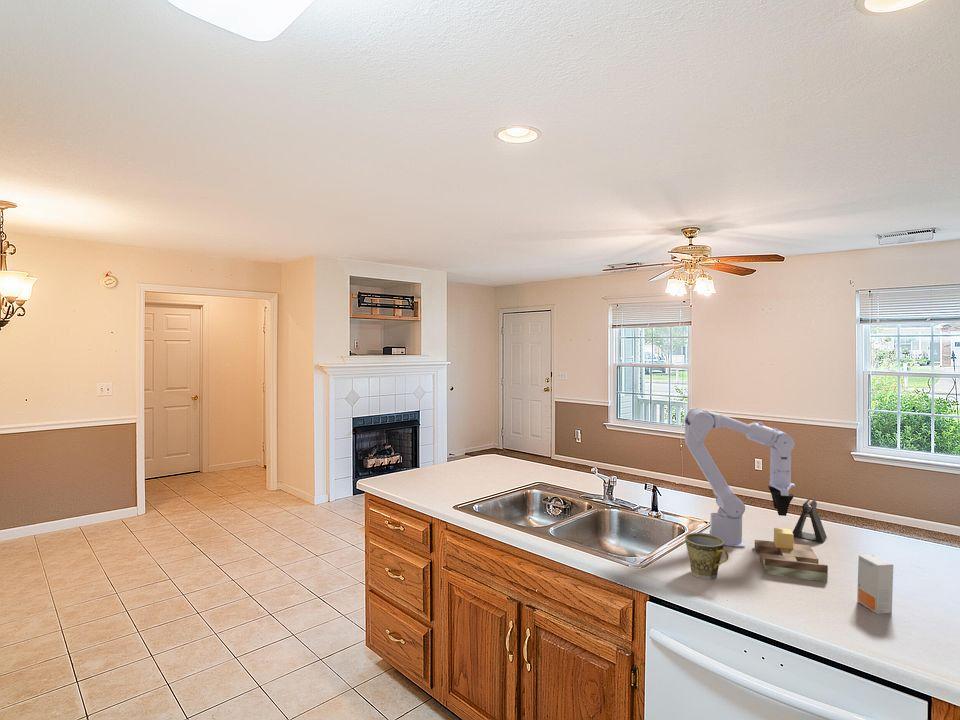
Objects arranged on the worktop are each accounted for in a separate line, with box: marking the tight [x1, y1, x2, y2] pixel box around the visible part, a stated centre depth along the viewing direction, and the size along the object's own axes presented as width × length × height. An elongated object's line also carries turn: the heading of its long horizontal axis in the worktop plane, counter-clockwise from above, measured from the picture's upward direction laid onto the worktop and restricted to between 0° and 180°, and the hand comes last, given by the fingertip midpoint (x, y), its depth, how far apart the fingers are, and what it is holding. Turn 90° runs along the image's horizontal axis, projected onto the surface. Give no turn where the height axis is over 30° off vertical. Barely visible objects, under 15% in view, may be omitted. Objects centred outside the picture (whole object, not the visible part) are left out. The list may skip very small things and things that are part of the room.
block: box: [773, 527, 795, 549], centre depth 163 cm, size 4×4×4 cm
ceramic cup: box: [684, 532, 729, 581], centre depth 147 cm, size 13×10×10 cm
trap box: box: [754, 539, 829, 583], centre depth 156 cm, size 15×20×4 cm
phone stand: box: [792, 498, 828, 544], centre depth 176 cm, size 9×6×12 cm, turn 47°
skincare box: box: [856, 554, 894, 615], centre depth 130 cm, size 6×4×12 cm
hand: (780, 511), depth 169 cm, fingers open, 6 cm apart
